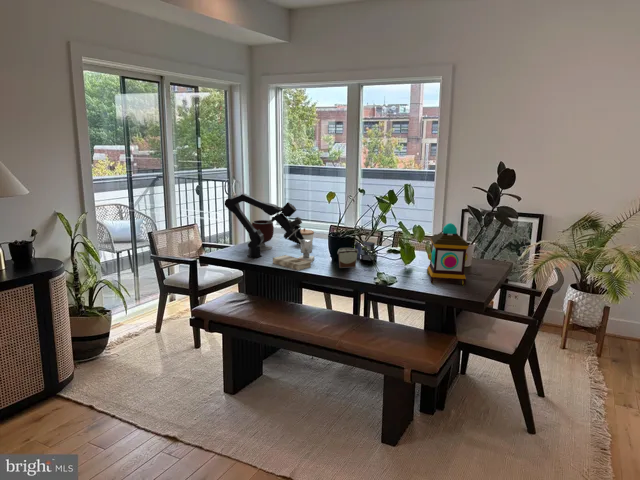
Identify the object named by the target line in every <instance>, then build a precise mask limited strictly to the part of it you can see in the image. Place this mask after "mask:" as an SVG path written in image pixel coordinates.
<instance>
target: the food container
mask: <svg viewBox="0 0 640 480" xmlns="http://www.w3.org/2000/svg"><path fill="white" fill-rule="evenodd" d="M358 253H359V252H358V249H355V247H354V248H352V247H340V248H339V249H338V250H337V253H336V254H337V255H338V265H339V266H338V267H339V269H346V268H356V267H357V261H358V260H357V254H358Z"/></svg>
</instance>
